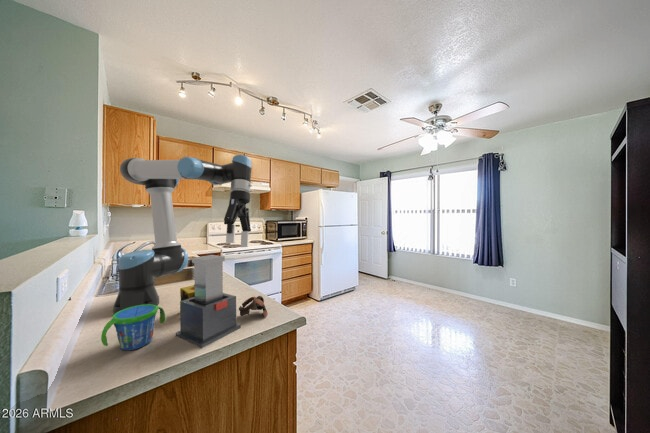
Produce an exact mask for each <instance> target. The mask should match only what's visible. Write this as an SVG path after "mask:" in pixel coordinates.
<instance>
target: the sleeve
mask: <svg viewBox="0 0 650 433" xmlns="http://www.w3.org/2000/svg"><path fill="white" fill-rule="evenodd" d="M179 311H180V314H179V315H180V316H179V319H180V320H179V321H180V323H179V324H180V327H179V328H180V330H178V331H176V332H175V337H177V338H180V339H182V340H183V341H185V342H188V343H190V344H192V345H195V346H197V347H199V348H201V349H203V348H205V347H206V346H209V345H211V344H213V343H215V342H217V341H218V340H220V339H222V338H224V337H225V336H226V337H227V336H228V335H230V334H232V333H235V331H237V330H239V329H241V327H242V325H241V324H240V323H237V296H236V295H233V294H228V293H226V292H223V299H222V300H219V301H217V302H214V303H211V304H208V305H206V306H203V305H200V304H197V303H195V299H194V297H192V298H189V299H186V300H183V301H181V300H180V301H179Z"/></svg>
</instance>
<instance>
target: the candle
mask: <svg viewBox="0 0 650 433" xmlns="http://www.w3.org/2000/svg"><path fill="white" fill-rule="evenodd" d="M179 289H180V290H179V294H180V295H179V296H180V301H183V300H186V299H189V298H192V297H195V287H194V284H193V285H189V286H188V285H187V286H183V287H180V288H179Z"/></svg>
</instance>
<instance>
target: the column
mask: <svg viewBox="0 0 650 433" xmlns="http://www.w3.org/2000/svg"><path fill="white" fill-rule="evenodd" d="M225 261H226V260H225V256H224V255H218V254H217V255H216V254H207V255H202V256H197V257H196V256H195V257H192V258H191V263H192V264H194V267H193V268H194V269H193V270H194V284H193V285H194V287H195V297H194V299H195V303H197V304H200V305H203V306H206V305H208V304H211V303H214V302H217V301H219V300H222V299H223V293H224V292H223V290H224V289H223V286H224V285H223V280H224V279H223V270H224V268H223V262H225Z"/></svg>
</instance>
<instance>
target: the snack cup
mask: <svg viewBox="0 0 650 433" xmlns="http://www.w3.org/2000/svg"><path fill="white" fill-rule="evenodd" d="M158 310H159V323H160V324H164V323H165V322H166V313H165V310H164V309H163V307H161V306H158V305H157V306H156V305H152V304H146V305H138V306H133V307H129V308H126V309H123V310H121V311H119V312H117V313H114V314H113V315H112V318H111V319H110V320H109V321H108V322H107V323H105V325H104V327H103V329H102V331H101V335H100V336H101V337H100V340H101V343H102V345H103V346H105V347H108V346H109V343H108V338H107V332H108V331H109V329H111V327H112V326H114V328H115V331H116V336H117V341H118V345H119V347H120V349H121V351H132V350H134V351H135V350H137V349H140V348H143V347H145V346H147V344H150V343H151V342H152V339H153V336H154V330H155V323H156V322H155V321H156V317H157V316H156V315H157V313H158Z"/></svg>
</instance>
